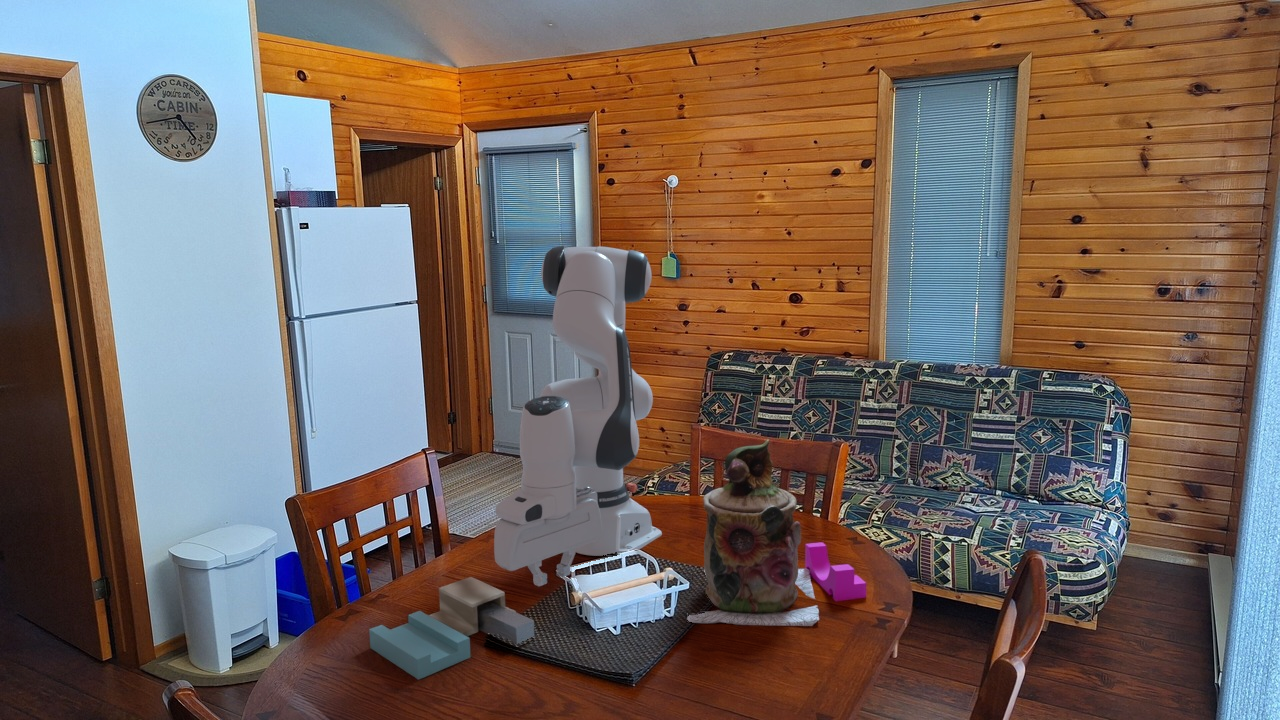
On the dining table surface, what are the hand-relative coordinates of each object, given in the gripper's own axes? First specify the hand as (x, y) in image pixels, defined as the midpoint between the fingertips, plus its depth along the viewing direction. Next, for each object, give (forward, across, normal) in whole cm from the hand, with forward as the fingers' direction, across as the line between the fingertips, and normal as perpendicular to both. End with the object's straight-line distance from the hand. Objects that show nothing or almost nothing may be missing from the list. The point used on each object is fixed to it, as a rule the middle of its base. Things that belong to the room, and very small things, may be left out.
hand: (552, 579), depth 136 cm
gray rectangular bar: (+15, -2, -21) cm, 26 cm away
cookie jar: (+15, -42, +9) cm, 46 cm away
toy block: (+15, -57, +19) cm, 62 cm away
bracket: (+15, -2, -26) cm, 30 cm away
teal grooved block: (+15, +12, -21) cm, 29 cm away
